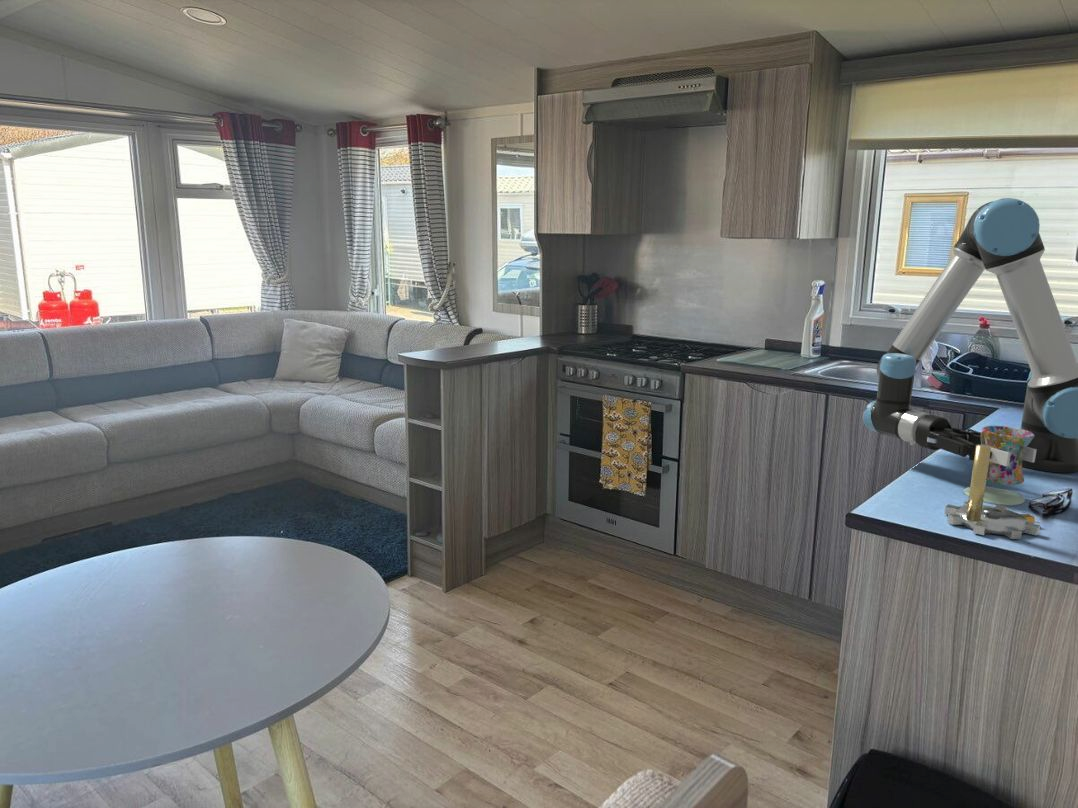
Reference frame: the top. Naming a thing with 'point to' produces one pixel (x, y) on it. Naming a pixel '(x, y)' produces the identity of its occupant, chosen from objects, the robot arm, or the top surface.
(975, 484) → the sprocket
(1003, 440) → the mug
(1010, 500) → the pale green plate
